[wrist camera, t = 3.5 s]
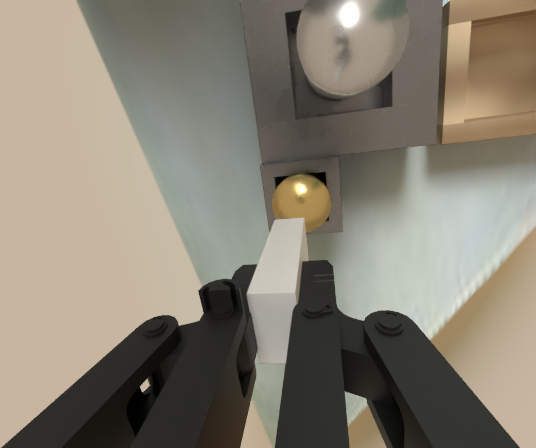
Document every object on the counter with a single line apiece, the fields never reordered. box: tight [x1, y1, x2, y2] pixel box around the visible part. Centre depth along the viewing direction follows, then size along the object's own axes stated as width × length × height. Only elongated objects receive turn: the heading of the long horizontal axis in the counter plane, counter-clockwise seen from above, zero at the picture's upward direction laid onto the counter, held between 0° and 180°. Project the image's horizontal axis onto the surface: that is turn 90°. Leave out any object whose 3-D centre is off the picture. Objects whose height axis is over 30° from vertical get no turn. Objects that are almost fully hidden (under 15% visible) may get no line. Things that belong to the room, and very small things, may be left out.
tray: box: [436, 0, 536, 144], centre depth 24 cm, size 10×10×4 cm
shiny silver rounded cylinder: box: [297, 0, 409, 101], centre depth 19 cm, size 5×5×12 cm
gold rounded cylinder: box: [272, 173, 331, 232], centre depth 26 cm, size 4×4×7 cm
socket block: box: [240, 0, 443, 234], centre depth 25 cm, size 19×13×8 cm
